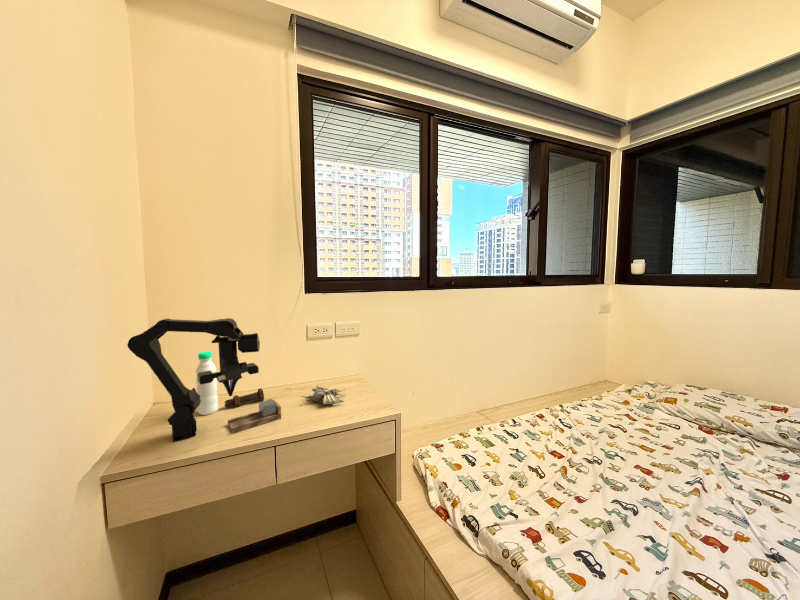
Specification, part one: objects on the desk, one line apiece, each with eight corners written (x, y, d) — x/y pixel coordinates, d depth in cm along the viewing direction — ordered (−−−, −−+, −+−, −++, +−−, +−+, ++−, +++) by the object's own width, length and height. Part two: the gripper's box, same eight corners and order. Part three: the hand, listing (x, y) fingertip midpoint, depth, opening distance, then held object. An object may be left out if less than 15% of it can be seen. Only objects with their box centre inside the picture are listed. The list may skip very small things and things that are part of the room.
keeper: (263, 419, 117) (262, 406, 116) (259, 414, 120) (258, 402, 120) (276, 415, 120) (276, 402, 120) (272, 410, 124) (271, 398, 123)
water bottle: (209, 416, 122) (205, 355, 120) (194, 414, 123) (190, 354, 121) (222, 408, 129) (219, 350, 127) (208, 407, 130) (204, 349, 128)
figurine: (335, 380, 148) (356, 389, 136) (334, 392, 148) (356, 403, 137) (296, 389, 134) (317, 400, 122) (296, 402, 134) (316, 415, 122)
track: (233, 433, 109) (232, 420, 108) (228, 425, 115) (227, 412, 114) (281, 418, 120) (280, 406, 119) (274, 411, 126) (273, 399, 125)
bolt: (225, 412, 130) (263, 402, 139) (226, 410, 126) (264, 399, 135) (223, 398, 131) (260, 389, 140) (223, 396, 128) (262, 386, 137)
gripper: (201, 363, 97) (204, 410, 99) (262, 353, 110) (264, 395, 111) (196, 356, 106) (198, 400, 107) (253, 348, 118) (255, 387, 119)
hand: (230, 395), depth 111 cm, fingers closed
